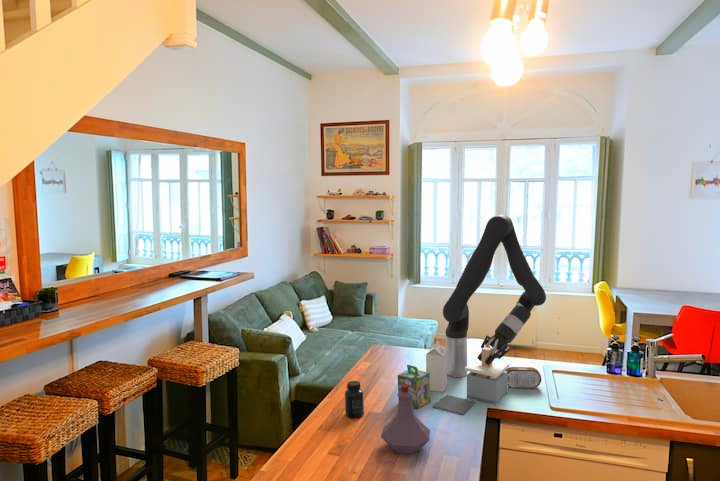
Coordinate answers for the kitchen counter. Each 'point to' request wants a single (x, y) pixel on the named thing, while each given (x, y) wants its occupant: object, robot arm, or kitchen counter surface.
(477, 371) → the lid
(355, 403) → the supplement bottle
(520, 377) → the tin
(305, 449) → the kitchen counter surface
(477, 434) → the kitchen counter surface
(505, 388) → the box
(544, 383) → the kitchen counter surface
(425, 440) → the flask
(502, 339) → the robot arm
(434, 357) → the milk carton
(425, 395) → the green handled carton
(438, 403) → the mat
